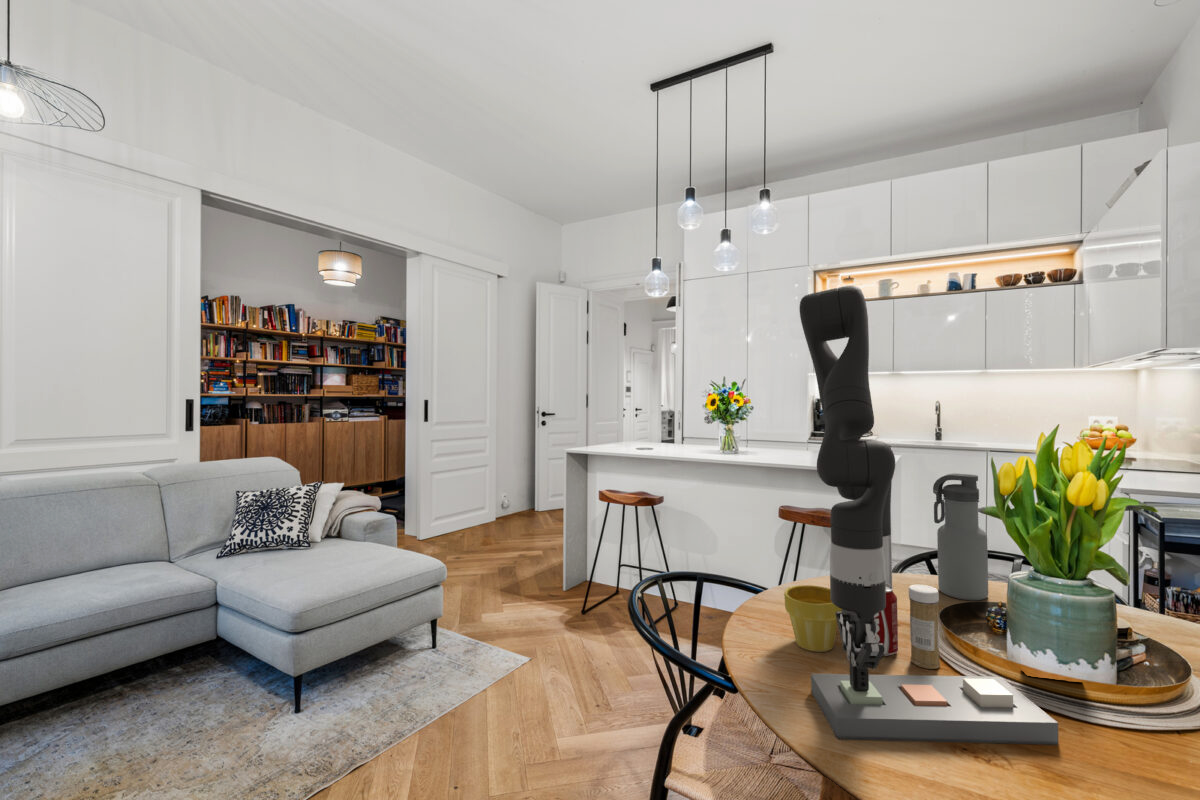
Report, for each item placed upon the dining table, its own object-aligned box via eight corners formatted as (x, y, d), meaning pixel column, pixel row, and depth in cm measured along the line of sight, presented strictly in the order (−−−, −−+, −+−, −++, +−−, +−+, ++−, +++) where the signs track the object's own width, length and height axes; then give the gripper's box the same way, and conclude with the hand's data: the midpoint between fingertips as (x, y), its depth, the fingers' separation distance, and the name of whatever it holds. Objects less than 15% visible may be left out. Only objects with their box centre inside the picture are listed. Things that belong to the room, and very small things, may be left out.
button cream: (963, 696, 82) (962, 678, 82) (993, 697, 82) (993, 678, 82) (981, 713, 78) (980, 694, 78) (1013, 714, 78) (1013, 695, 78)
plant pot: (774, 637, 108) (773, 588, 108) (817, 629, 111) (816, 581, 111) (809, 661, 98) (808, 607, 98) (855, 651, 101) (854, 599, 101)
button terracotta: (901, 702, 83) (901, 684, 83) (931, 703, 83) (931, 685, 83) (915, 719, 79) (915, 700, 79) (947, 720, 78) (947, 701, 78)
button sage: (840, 698, 84) (840, 680, 84) (870, 699, 83) (869, 681, 83) (851, 715, 79) (851, 696, 79) (882, 716, 79) (882, 697, 79)
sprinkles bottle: (945, 665, 95) (943, 588, 95) (932, 672, 93) (930, 594, 93) (918, 654, 99) (916, 581, 99) (905, 662, 97) (903, 587, 97)
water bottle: (930, 593, 128) (928, 475, 128) (943, 583, 135) (941, 470, 135) (982, 605, 121) (979, 479, 120) (993, 593, 127) (990, 474, 127)
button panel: (811, 692, 88) (810, 673, 88) (1000, 695, 86) (1000, 676, 85) (837, 739, 76) (836, 717, 76) (1058, 744, 74) (1058, 722, 74)
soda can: (894, 644, 104) (893, 581, 103) (901, 660, 97) (900, 594, 97) (855, 639, 106) (854, 578, 106) (860, 655, 99) (858, 590, 99)
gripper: (817, 560, 88) (819, 666, 88) (847, 588, 75) (849, 714, 75) (865, 560, 88) (867, 667, 88) (904, 589, 74) (906, 715, 74)
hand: (859, 688), depth 81 cm, fingers closed
